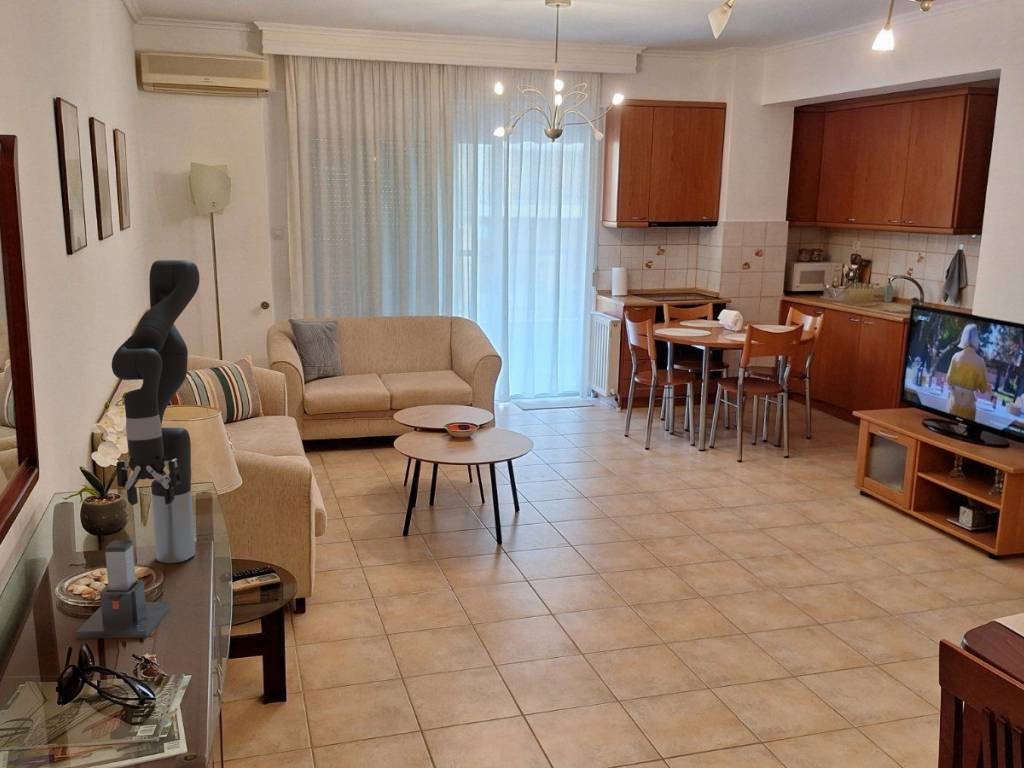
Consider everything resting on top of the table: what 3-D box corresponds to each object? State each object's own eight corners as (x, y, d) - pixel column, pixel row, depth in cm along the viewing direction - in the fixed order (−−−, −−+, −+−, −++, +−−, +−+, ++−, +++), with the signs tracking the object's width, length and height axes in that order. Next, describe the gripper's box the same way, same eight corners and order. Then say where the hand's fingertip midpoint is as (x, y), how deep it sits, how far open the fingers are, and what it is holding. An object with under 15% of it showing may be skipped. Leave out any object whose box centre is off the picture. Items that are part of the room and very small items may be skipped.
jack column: (118, 610, 192) (112, 540, 189) (137, 610, 192) (132, 540, 189) (110, 619, 188) (104, 547, 185) (130, 619, 188) (124, 547, 185)
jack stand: (105, 608, 197) (102, 574, 196) (170, 608, 198) (167, 573, 196) (76, 638, 184) (73, 601, 182) (146, 637, 184) (143, 600, 183)
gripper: (181, 431, 210) (188, 499, 213) (123, 432, 212) (130, 499, 214) (166, 438, 203) (173, 508, 205) (106, 439, 204) (113, 508, 207)
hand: (151, 503), depth 210 cm, fingers open, 8 cm apart
